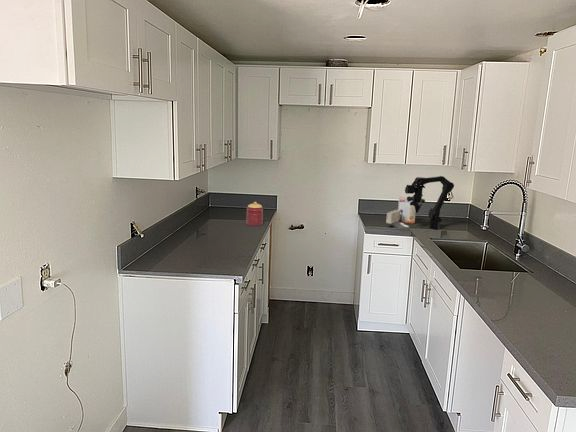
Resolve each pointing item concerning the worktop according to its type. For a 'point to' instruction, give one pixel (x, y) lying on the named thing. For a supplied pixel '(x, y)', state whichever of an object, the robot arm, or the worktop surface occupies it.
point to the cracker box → (406, 210)
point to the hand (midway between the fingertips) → (416, 212)
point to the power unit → (400, 226)
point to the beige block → (394, 216)
